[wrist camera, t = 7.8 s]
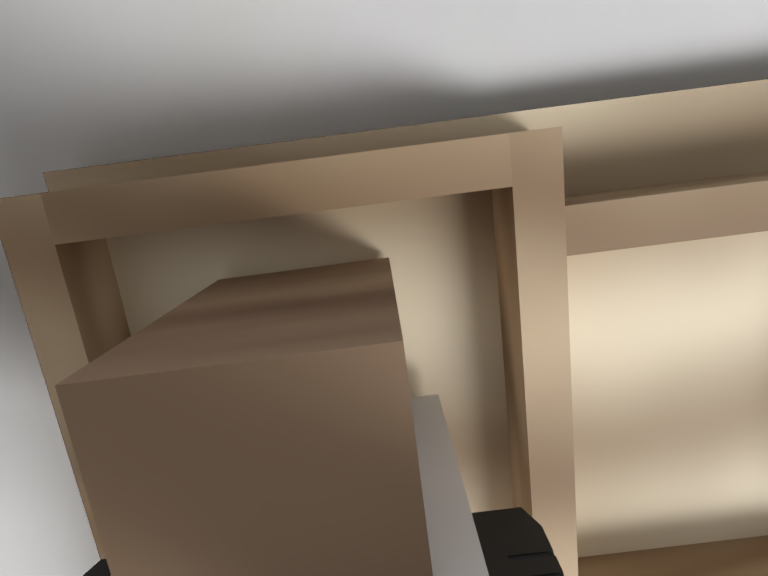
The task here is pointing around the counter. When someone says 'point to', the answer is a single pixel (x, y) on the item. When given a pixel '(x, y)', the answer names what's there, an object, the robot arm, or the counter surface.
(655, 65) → the counter surface
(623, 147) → the tray
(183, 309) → the brown wooden block
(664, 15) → the counter surface
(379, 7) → the counter surface
